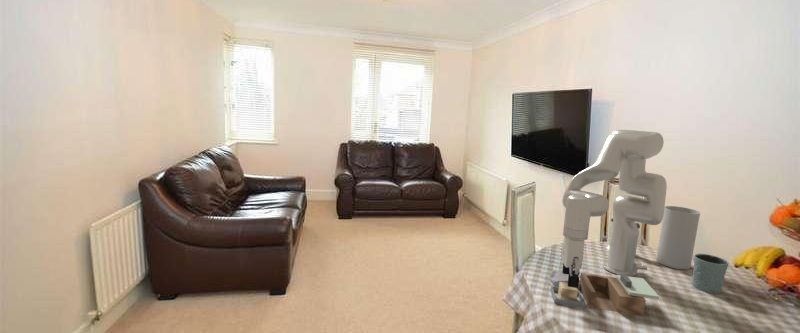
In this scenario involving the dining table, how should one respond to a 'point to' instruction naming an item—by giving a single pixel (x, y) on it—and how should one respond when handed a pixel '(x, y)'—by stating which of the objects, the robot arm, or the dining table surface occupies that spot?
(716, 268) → the teal plant pot
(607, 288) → the brown open box
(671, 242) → the cylinder vase
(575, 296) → the birch block
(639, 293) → the sliding lid
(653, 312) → the dining table surface
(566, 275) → the stone block
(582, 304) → the gray tray
